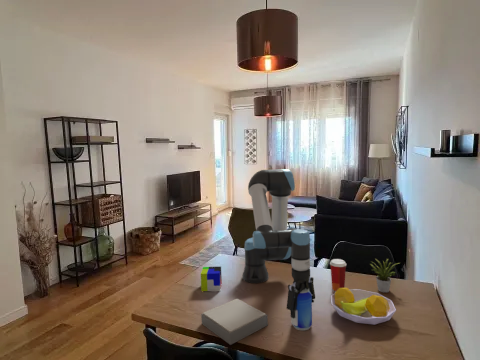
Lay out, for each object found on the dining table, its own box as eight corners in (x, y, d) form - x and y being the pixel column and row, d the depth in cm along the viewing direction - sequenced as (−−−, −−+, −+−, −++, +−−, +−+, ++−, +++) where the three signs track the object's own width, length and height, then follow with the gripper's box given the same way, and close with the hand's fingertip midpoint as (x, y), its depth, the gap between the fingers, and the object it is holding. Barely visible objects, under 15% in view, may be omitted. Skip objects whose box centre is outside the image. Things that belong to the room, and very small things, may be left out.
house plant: (394, 284, 166) (395, 254, 165) (405, 296, 153) (406, 263, 151) (367, 283, 168) (367, 254, 166) (375, 295, 154) (376, 263, 153)
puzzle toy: (220, 291, 164) (219, 273, 163) (201, 292, 164) (200, 273, 163) (221, 283, 174) (221, 266, 173) (203, 284, 174) (203, 266, 173)
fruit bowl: (362, 296, 154) (362, 274, 153) (410, 323, 128) (410, 297, 127) (314, 308, 144) (314, 284, 143) (356, 340, 118) (356, 312, 118)
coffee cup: (344, 286, 166) (344, 258, 165) (348, 292, 158) (348, 264, 157) (328, 285, 167) (328, 258, 166) (331, 292, 159) (331, 264, 157)
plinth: (237, 308, 146) (237, 297, 146) (267, 325, 131) (267, 313, 130) (201, 323, 133) (201, 312, 133) (230, 345, 118) (230, 332, 117)
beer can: (296, 333, 124) (296, 294, 123) (288, 322, 132) (287, 286, 131) (315, 329, 126) (315, 291, 125) (306, 319, 134) (305, 283, 133)
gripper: (290, 277, 118) (291, 334, 120) (323, 263, 131) (324, 314, 133) (276, 272, 123) (277, 326, 125) (309, 259, 137) (310, 308, 139)
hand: (301, 320), depth 129 cm, fingers closed on beer can, 8 cm apart
